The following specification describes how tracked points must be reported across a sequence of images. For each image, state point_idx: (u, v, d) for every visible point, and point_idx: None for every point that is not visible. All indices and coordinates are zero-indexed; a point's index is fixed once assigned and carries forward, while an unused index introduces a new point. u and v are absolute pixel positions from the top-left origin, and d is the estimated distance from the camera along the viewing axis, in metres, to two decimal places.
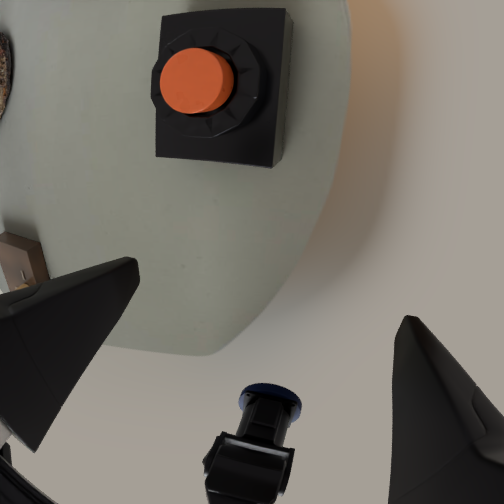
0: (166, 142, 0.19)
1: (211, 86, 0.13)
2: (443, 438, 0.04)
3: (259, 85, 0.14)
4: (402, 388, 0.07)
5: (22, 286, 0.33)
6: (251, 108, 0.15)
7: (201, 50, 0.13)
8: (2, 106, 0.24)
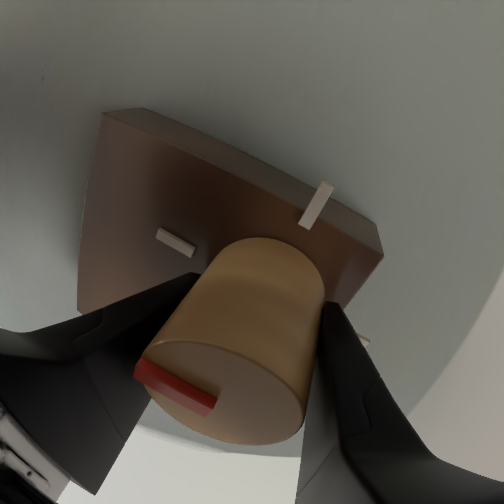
0: None
1: None
2: (326, 429, 0.05)
3: None
4: (313, 375, 0.07)
5: None
6: None
7: None
8: None
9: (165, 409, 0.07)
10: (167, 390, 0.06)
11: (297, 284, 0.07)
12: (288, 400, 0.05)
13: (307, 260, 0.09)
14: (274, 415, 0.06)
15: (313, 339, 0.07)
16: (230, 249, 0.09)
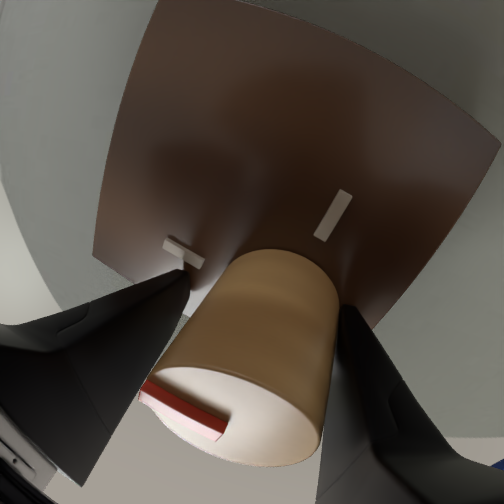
0: None
1: None
2: (353, 433, 0.05)
3: None
4: (332, 378, 0.07)
5: None
6: None
7: None
8: None
9: (173, 430, 0.06)
10: (174, 414, 0.05)
11: (312, 301, 0.07)
12: (303, 426, 0.05)
13: (321, 272, 0.08)
14: (288, 439, 0.05)
15: (329, 358, 0.06)
16: (240, 262, 0.08)
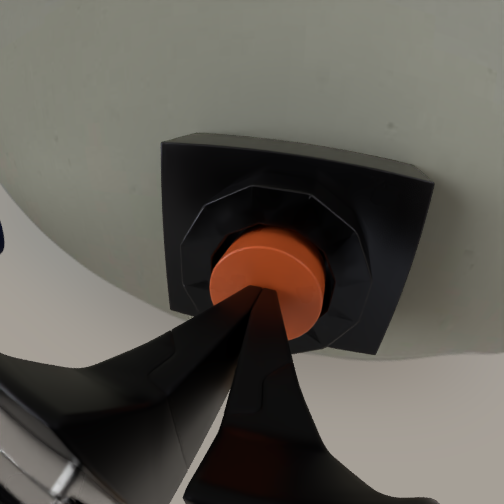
0: (183, 165, 0.11)
1: None
2: None
3: None
4: None
5: None
6: None
7: (311, 324, 0.09)
8: None
9: None
10: None
11: None
12: None
13: None
14: None
15: None
16: None
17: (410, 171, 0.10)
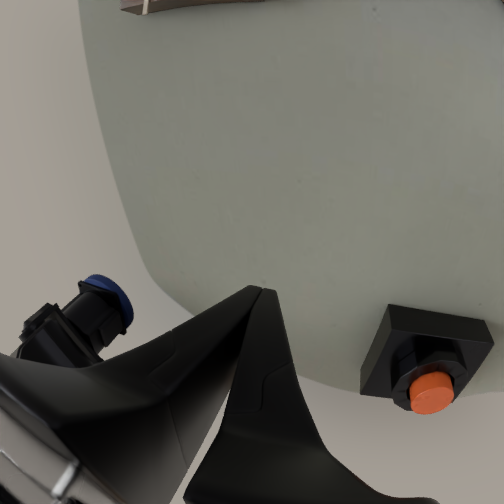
0: (400, 339, 0.20)
1: (422, 410, 0.19)
2: None
3: None
4: None
5: None
6: None
7: (445, 406, 0.18)
8: None
9: None
10: None
11: None
12: None
13: None
14: None
15: None
16: None
17: (485, 334, 0.19)
